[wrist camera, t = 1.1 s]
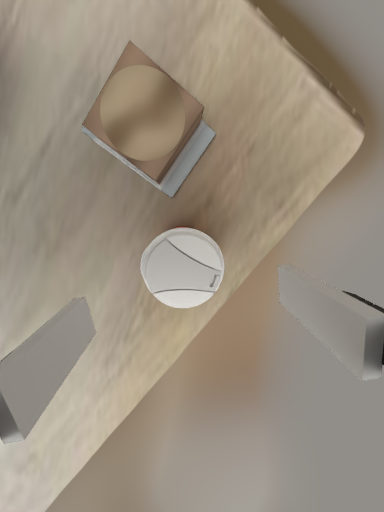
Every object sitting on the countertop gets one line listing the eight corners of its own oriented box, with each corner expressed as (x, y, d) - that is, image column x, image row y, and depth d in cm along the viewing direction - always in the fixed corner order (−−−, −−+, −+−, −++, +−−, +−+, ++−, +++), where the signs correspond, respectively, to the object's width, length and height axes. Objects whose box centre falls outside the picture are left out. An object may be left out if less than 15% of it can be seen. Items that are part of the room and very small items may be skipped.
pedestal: (99, 139, 28) (81, 124, 23) (138, 71, 26) (129, 39, 21) (159, 184, 29) (155, 180, 25) (200, 124, 28) (204, 106, 23)
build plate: (84, 133, 28) (80, 130, 27) (127, 59, 27) (124, 52, 25) (171, 198, 31) (171, 198, 30) (215, 135, 29) (216, 132, 28)
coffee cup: (213, 227, 33) (239, 243, 18) (198, 273, 34) (212, 321, 20) (163, 212, 32) (148, 217, 17) (151, 260, 33) (128, 302, 19)
